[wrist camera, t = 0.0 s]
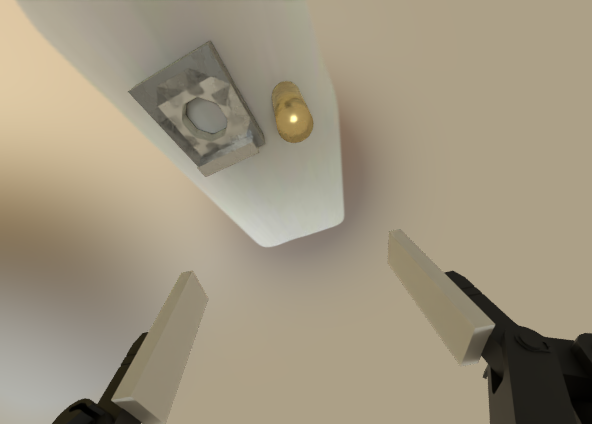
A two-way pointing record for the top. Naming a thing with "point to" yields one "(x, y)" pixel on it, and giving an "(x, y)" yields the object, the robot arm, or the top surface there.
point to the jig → (210, 86)
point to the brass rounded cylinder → (291, 113)
